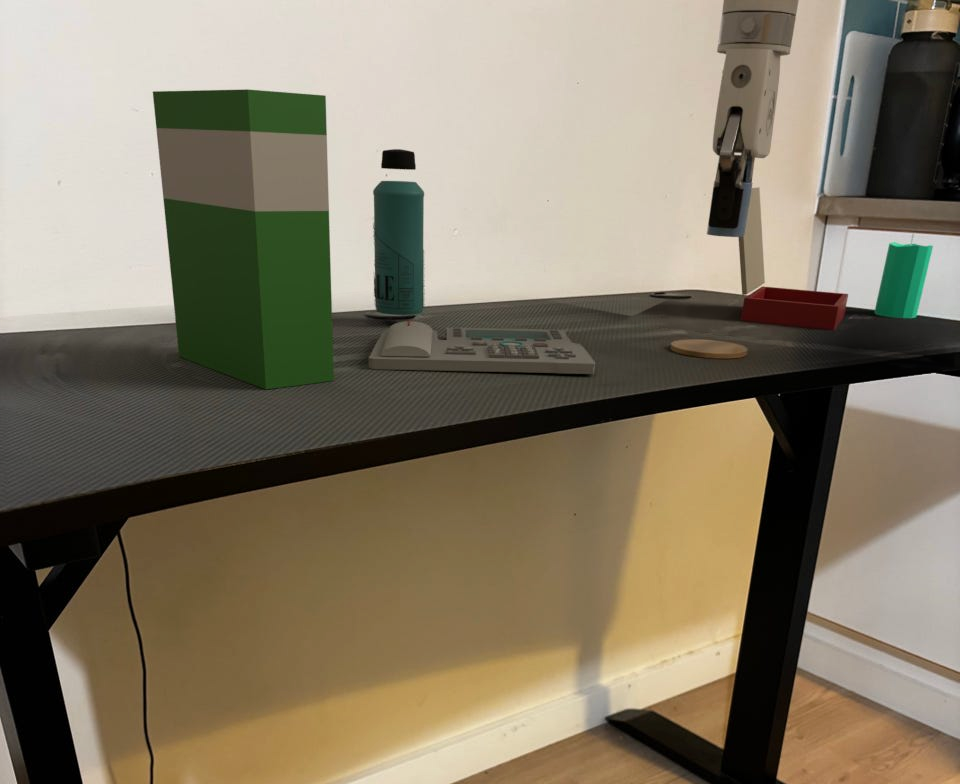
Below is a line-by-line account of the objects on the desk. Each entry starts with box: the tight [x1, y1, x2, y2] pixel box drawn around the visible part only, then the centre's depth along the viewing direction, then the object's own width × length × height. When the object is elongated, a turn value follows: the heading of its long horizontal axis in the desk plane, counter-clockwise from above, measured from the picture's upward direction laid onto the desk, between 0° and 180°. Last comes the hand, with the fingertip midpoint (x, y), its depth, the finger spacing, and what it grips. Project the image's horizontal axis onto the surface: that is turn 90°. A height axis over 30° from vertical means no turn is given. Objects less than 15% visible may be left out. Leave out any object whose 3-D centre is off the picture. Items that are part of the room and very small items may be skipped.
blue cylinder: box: [706, 180, 754, 238], centre depth 108 cm, size 4×4×6 cm
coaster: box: [670, 338, 749, 360], centre depth 115 cm, size 9×9×1 cm
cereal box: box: [152, 88, 335, 390], centre depth 91 cm, size 18×7×24 cm, turn 41°
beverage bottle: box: [372, 148, 426, 316], centre depth 119 cm, size 6×7×20 cm
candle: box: [874, 232, 934, 319], centre depth 142 cm, size 6×6×12 cm
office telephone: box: [368, 319, 596, 375], centre depth 107 cm, size 23×3×20 cm
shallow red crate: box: [740, 285, 849, 331], centre depth 137 cm, size 12×15×4 cm
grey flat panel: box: [737, 186, 766, 296], centre depth 135 cm, size 13×15×1 cm
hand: (727, 224), depth 109 cm, fingers closed on blue cylinder, 4 cm apart
